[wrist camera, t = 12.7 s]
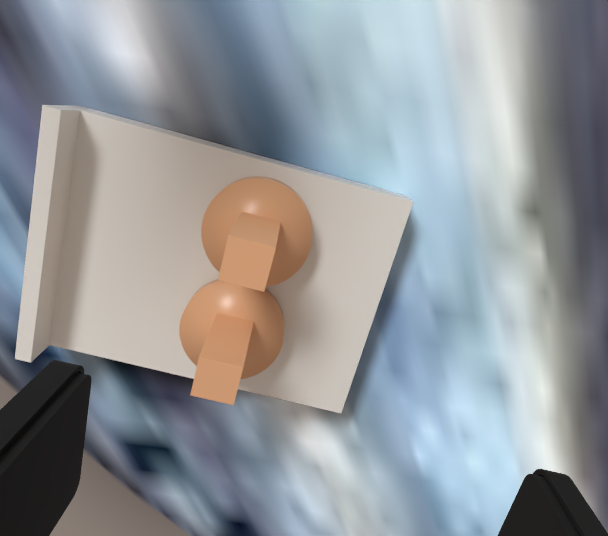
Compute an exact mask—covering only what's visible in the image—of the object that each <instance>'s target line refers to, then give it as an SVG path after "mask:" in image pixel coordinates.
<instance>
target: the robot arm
mask: <svg viewBox="0 0 608 536" xmlns="http://www.w3.org/2000/svg"><path fill="white" fill-rule="evenodd" d="M90 388H91V376H90V375H86V374H84V368H83V367H82V366H79V365H75V364H70V363H66V362H62V361H57V360H54V361H52V362H50V363H49V364H48V365H47V366H46V367H45V368H44V369H43V370H42V371H41V372H40V373H39V374H38V375H37V376H36V377H35V378H33V379H32V380H31V381H30V382H29V383H28V384H27V385H26V386H25V387H24V388H23V389H22V390H21V391H20V392H19V393H18V394H17V395H16V396H14V397H13V398H12V399H11V400H10V401H9V402H8V403H7V404H6V405H5V406H4V407H3V408H2V409H1V410H0V536H49V535H50V533H51V532H52V530H53V529H54V527H55V525H56V524H57V522H58V521H59V519H60V518H61V516H62V514H63V513H64V511H65V510H66V508H67V506H68V505H69V503H70V502H71V500H72V498H73V497H74V495H75V493H76V490H77V487H78V485H79V481H80V474H81V466H82V457H83V448H84V440H85V431H86V423H87V414H88V406H89V397H90ZM498 536H608V533H607V532H606V530H605V529H604V527H603V526H602V524H601V523H600V521H599V520H598V518H597V517H596V515H595V514H594V512H593V511H592V509H591V508H590V506H589V505H588V503H587V502H586V500H585V499H584V497H583V496H582V494H581V493H580V491H579V490H578V488H577V487H576V486H575V484H574V483H573V481H572V480H571V478H570V477H569V476H567V475H565V474H561V473H556V472H552V471H547V470H543V469H537V470H536V471H535V472H534V473H533V474H528V475H527V476H526V477H525V479H524V480H523V483H522V485H521V487H520V489H519V491H518V493H517V495H516V498H515V500H514V502H513V504H512V506H511V508H510V510H509V513H508V515H507V517H506V519H505V521H504V523H503V525H502V527H501V530H500V532H499V534H498Z"/></svg>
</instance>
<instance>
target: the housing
mask: <svg viewBox="0 0 608 536" xmlns="http://www.w3.org/2000/svg"><path fill="white" fill-rule="evenodd" d="M412 205H413V201H411V200H410V199H409V198H408V197H407V196H405V195H401V194H398V193H394V192H390V191H387V190H383V189H380V188H376V187H372V186H369V185H365V184H361V183H358V182H354V181H351V180H347V179H343V178H340V177H336V176H333V175H329V174H325V173H322V172H318V171H315V170H311V169H307V168H304V167H300V166H296V165H293V164H289V163H286V162H282V161H278V160H275V159H271V158H268V157H264V156H260V155H257V154H253V153H249V152H246V151H242V150H239V149H235V148H231V147H228V146H224V145H221V144H217V143H213V142H210V141H206V140H203V139H199V138H195V137H192V136H188V135H184V134H181V133H177V132H174V131H170V130H166V129H163V128H159V127H156V126H152V125H148V124H145V123H141V122H137V121H134V120H130V119H127V118H123V117H119V116H116V115H112V114H109V113H105V112H101V111H98V110H94V109H91V108H87V107H83V106H62V105H43V106H42V115H41V124H40V133H39V142H38V152H37V161H36V170H35V179H34V188H33V197H32V206H31V216H30V225H29V234H28V243H27V252H26V261H25V270H24V280H23V289H22V298H21V307H20V316H19V325H18V335H17V344H16V353H15V359H18V360H22V361H26V362H32V361H33V360H34V359H35V358H36V357H37V356H38V355H39V354H40V353H41V352H42V351H44V350H45V349H46V348H47V347H48V346H49V345H52V346H56V347H60V348H65V349H69V350H73V351H77V352H82V353H86V354H90V355H94V356H99V357H103V358H107V359H111V360H116V361H120V362H124V363H128V364H133V365H137V366H141V367H145V368H150V369H154V370H158V371H162V372H167V373H171V374H175V375H179V376H184V377H188V378H192V379H194V377H195V372H196V368H197V366H196V365H195V364H194V363H193V362H192V361H191V360H190V359H189V357H188V356H187V354H186V353H185V351H184V349H183V347H182V344H181V340H180V334H179V326H180V320H181V317H182V314H183V312H184V310H185V308H186V306H187V304H188V303H189V301H190V300H191V298H192V296H193V295H194V294H195V293H196V292H197V291H198V290H199V289H200V288H201V287H202V286H204V285H205V284H207V283H209V282H211V281H213V280H216V279H218V280H219V281H223V282H227V283H231V284H235V285H239V286H243V287H247V288H251V289H255V290H259V291H263V292H264V291H265V288H266V289H267V290H268V291H270V293H271V294H272V295H273V296H274V297H275V298H276V300H277V301H278V303H279V305H280V307H281V309H282V312H283V316H284V337H283V344H282V347H281V350H280V352H279V354H278V356H277V358H276V359H275V360H274V362H273V363H272V364H271V365H270V366H269V367H268V368H267V369H265V370H264V371H262V372H261V373H259V374H257V375H255V376H252V377H249V378H245V379H240V382H239V386H238V389H239V390H243V391H248V392H252V393H256V394H260V395H265V396H269V397H273V398H277V399H282V400H286V401H290V402H294V403H299V404H303V405H307V406H311V407H316V408H320V409H324V410H328V411H333V412H337V413H342V410H343V407H344V404H345V401H346V398H347V395H348V392H349V389H350V386H351V383H352V380H353V378H354V375H355V372H356V369H357V366H358V363H359V360H360V357H361V354H362V351H363V348H364V345H365V342H366V340H367V337H368V334H369V331H370V328H371V325H372V322H373V319H374V316H375V313H376V310H377V307H378V304H379V302H380V299H381V296H382V293H383V290H384V287H385V284H386V281H387V278H388V275H389V272H390V269H391V266H392V263H393V261H394V258H395V255H396V252H397V249H398V246H399V243H400V240H401V237H402V234H403V231H404V228H405V225H406V223H407V220H408V217H409V214H410V211H411V208H412Z"/></svg>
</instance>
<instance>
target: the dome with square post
mask: <svg viewBox="0 0 608 536" xmlns="http://www.w3.org/2000/svg"><path fill="white" fill-rule="evenodd" d="M179 334H180V340H181V344H182V347H183V349H184V351H185V353H186V354H187V356H188V357H189V359H190V360H191V361H192V362H193V363H194V364H195V365H196V366H197V368H196V372H195V377H194V381H193V386H192V390H191V396H196V397H200V398H205V399H209V400H213V401H218V402H222V403H227V404H231V405H234V402H235V398H236V394H237V390H238V386H239V382H240V379H245V378H249V377H252V376H255V375H257V374H259V373H261V372H262V371H264V370H265V369H267V368H268V367H269V366H270V365H271V364H272V363H273V362H274V360H275V359H276V358H277V356H278V354H279V352H280V350H281V347H282V344H283V337H284V316H283V312H282V309H281V307H280V305H279V303H278V301H277V300H276V298H275V297H274V296H273V295H272V294H271V293H270V291H268V290H267V289H266V288H265V291H264V292H263V291H259V290H255V289H251V288H247V287H243V286H239V285H235V284H231V283H227V282H223V281H219V280H218V279H216V280H213V281H211V282H209V283H207V284H205V285H204V286H202V287H201V288H200V289H199V290H198V291H197V292H196V293H195V294H194V295H193V296H192V298H191V300H190V301H189V303H188V304H187V306H186V308H185V310H184V312H183V314H182V317H181V320H180V326H179Z"/></svg>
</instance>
